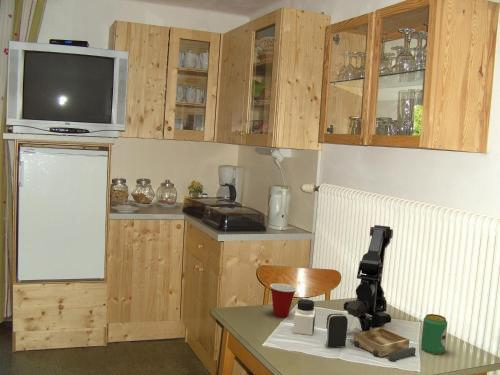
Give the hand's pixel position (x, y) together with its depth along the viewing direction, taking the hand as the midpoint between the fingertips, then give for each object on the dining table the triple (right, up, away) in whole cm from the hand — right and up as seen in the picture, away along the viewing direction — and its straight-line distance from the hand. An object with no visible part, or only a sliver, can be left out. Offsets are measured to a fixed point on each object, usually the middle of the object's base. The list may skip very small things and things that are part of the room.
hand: (364, 334), depth 201 cm
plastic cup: (-29, +2, +22) cm, 36 cm away
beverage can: (+23, -4, -6) cm, 24 cm away
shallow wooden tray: (+4, -3, -6) cm, 8 cm away
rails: (+2, -2, -4) cm, 5 cm away
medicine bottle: (-22, 0, +5) cm, 22 cm away
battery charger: (-12, -2, -7) cm, 14 cm away
